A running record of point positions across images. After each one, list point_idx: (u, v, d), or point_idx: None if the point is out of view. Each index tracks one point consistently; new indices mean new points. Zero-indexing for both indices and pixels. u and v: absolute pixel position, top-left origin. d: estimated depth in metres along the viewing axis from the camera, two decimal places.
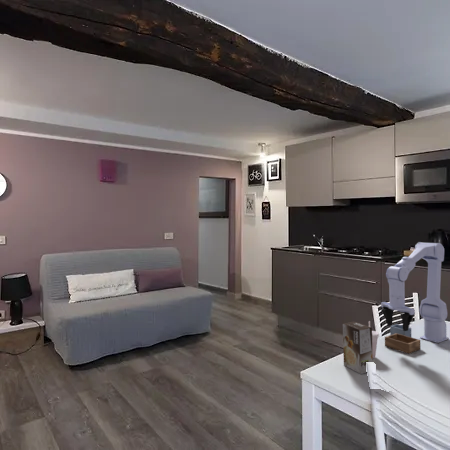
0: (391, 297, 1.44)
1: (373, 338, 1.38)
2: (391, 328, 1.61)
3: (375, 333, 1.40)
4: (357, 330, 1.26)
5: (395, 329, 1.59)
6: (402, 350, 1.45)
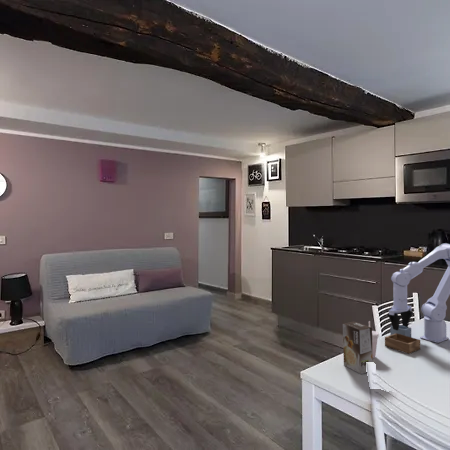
0: None
1: (373, 338, 1.38)
2: (391, 328, 1.61)
3: (375, 333, 1.40)
4: (357, 330, 1.26)
5: None
6: (402, 350, 1.45)
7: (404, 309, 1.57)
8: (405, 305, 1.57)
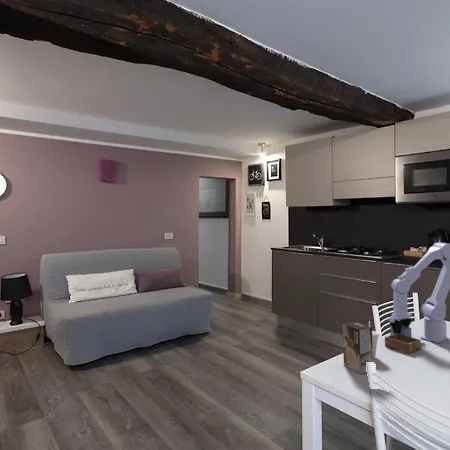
0: None
1: (373, 338, 1.38)
2: (391, 328, 1.61)
3: (375, 333, 1.40)
4: (357, 330, 1.26)
5: None
6: (402, 350, 1.45)
7: (404, 316, 1.57)
8: (405, 312, 1.57)
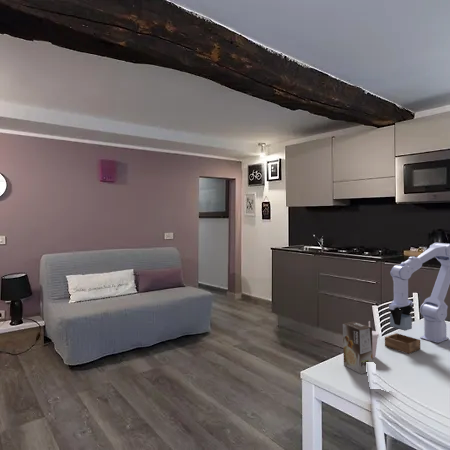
0: None
1: (373, 338, 1.38)
2: (391, 316, 1.56)
3: (375, 333, 1.40)
4: (357, 330, 1.26)
5: None
6: (402, 350, 1.45)
7: (405, 304, 1.51)
8: (406, 299, 1.52)
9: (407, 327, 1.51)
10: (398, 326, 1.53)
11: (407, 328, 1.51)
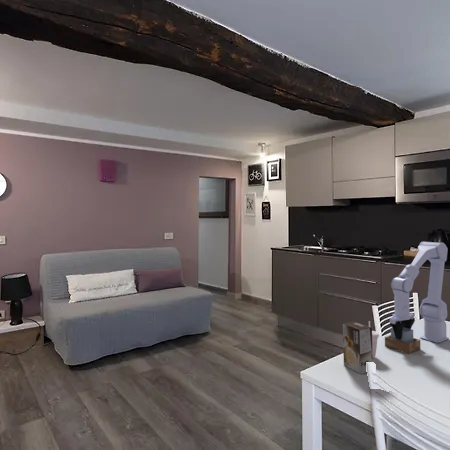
0: None
1: (373, 338, 1.38)
2: (391, 330, 1.51)
3: (375, 333, 1.40)
4: (357, 330, 1.26)
5: None
6: (402, 350, 1.45)
7: (406, 317, 1.46)
8: (407, 313, 1.46)
9: (409, 341, 1.46)
10: (399, 340, 1.48)
11: (409, 342, 1.46)
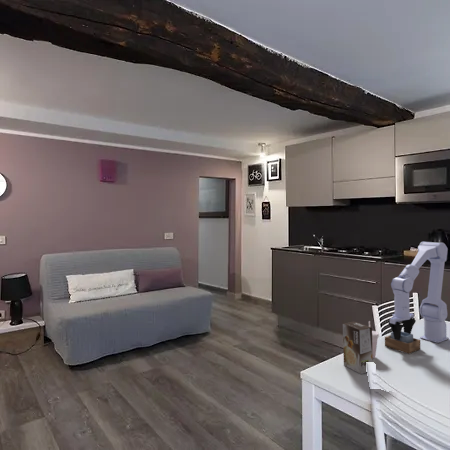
0: None
1: (373, 338, 1.38)
2: (392, 335, 1.50)
3: (375, 333, 1.40)
4: (357, 330, 1.26)
5: None
6: (402, 350, 1.45)
7: (406, 317, 1.46)
8: (407, 313, 1.46)
9: None
10: None
11: None
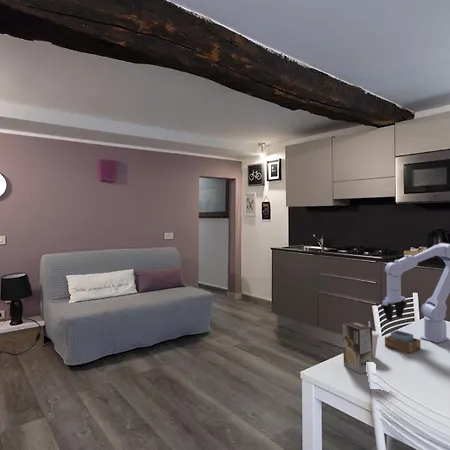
0: None
1: (373, 338, 1.38)
2: (392, 335, 1.50)
3: (375, 333, 1.40)
4: (357, 330, 1.26)
5: (396, 336, 1.49)
6: (402, 350, 1.45)
7: (398, 299, 1.57)
8: (399, 295, 1.57)
9: None
10: None
11: None
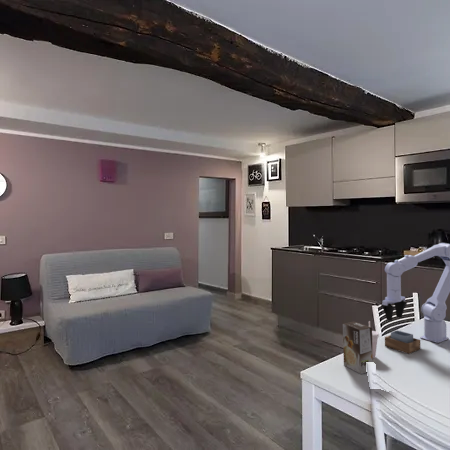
0: None
1: (373, 338, 1.38)
2: (392, 335, 1.50)
3: (375, 333, 1.40)
4: (357, 330, 1.26)
5: (396, 336, 1.49)
6: (402, 350, 1.45)
7: (398, 299, 1.57)
8: (398, 295, 1.57)
9: None
10: None
11: None
